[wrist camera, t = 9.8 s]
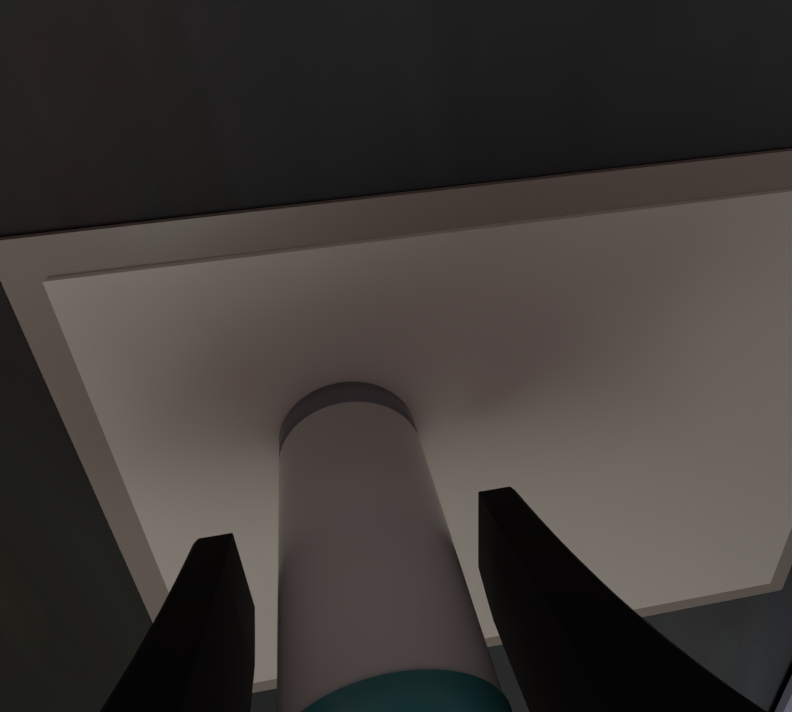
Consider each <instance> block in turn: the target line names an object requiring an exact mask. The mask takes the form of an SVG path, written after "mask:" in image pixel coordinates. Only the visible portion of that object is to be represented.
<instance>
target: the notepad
mask: <svg viewBox="0 0 792 712" xmlns="http://www.w3.org/2000/svg"><path fill="white" fill-rule="evenodd" d="M0 281H1V283H2V285H3V288H4V290H5V292H6V294H7V296H8V299H9V301H10V303H11V305H12V308H13V310H14V312H15V314H16V317H17V319H18V321H19V323H20V326H21V328H22V330H23V332H24V335H25V337H26V339H27V341H28V344H29V346H30V348H31V350H32V353H33V355H34V357H35V359H36V362H37V364H38V366H39V368H40V371H41V373H42V375H43V377H44V380H45V382H46V384H47V386H48V389H49V391H50V393H51V395H52V398H53V400H54V402H55V404H56V407H57V409H58V411H59V413H60V416H61V418H62V420H63V422H64V424H65V427H66V429H67V431H68V433H69V436H70V438H71V440H72V442H73V445H74V447H75V449H76V451H77V454H78V456H79V458H80V460H81V463H82V465H83V467H84V469H85V472H86V474H87V476H88V478H89V481H90V483H91V485H92V487H93V490H94V492H95V494H96V496H97V499H98V501H99V503H100V505H101V508H102V510H103V512H104V514H105V517H106V519H107V521H108V523H109V526H110V528H111V530H112V532H113V535H114V537H115V539H116V541H117V543H118V546H119V548H120V550H121V552H122V555H123V557H124V559H125V561H126V564H127V566H128V568H129V570H130V573H131V575H132V577H133V579H134V582H135V584H136V586H137V588H138V591H139V593H140V595H141V597H142V600H143V602H144V604H145V606H146V609H147V611H148V613H149V615H150V618H151V620H152V622H154V620H155V618H156V617H157V615H158V613H159V611H160V609H161V607H162V605H163V604H164V602H165V600H166V598H167V596H168V594H169V592H170V590H171V588H172V586H173V584H174V582H175V580H176V578H177V576H178V574H179V572H180V570H181V568H182V566H183V564H184V562H185V560H186V558H187V556H188V554H189V552H190V550H191V548H192V545H193V544H194V543H195V541H196V540H197V539H199V538H204V537H210V536H216V535H222V534H228V533H233V536H234V539H235V542H236V546H237V549H238V552H239V556H240V559H241V562H242V566H243V569H244V572H245V576H246V579H247V583H248V586H249V589H250V593H251V596H252V599H253V603H254V606H255V669H254V680H253V689H252V693H254V692H260V691H265V690H270V689H275V688H277V622H278V513H279V435H280V430H281V427H282V424H283V421H284V419H285V418H286V416H287V414H288V413H289V411H290V410H291V409H292V407H293V406H294V405H295V404H296V403H297V402H298V401H300V400H301V399H302V398H303V397H305V396H306V395H308V394H309V393H311V392H313V391H315V390H317V389H319V388H321V387H324V386H327V385H331V384H335V383H340V382H365V383H370V384H374V385H377V386H380V387H383V388H385V389H387V390H389V391H391V392H392V393H394V394H395V395H396V396H398V397H399V398H400V399H401V400H402V401H403V402H404V403H405V405H406V406H407V407H408V409H409V411H410V413H411V415H412V418H413V421H414V424H415V427H416V430H417V433H418V436H419V439H420V442H421V445H422V448H423V451H424V454H425V457H426V460H427V464H428V467H429V470H430V473H431V476H432V479H433V482H434V485H435V488H436V491H437V494H438V497H439V500H440V503H441V507H442V510H443V513H444V516H445V519H446V522H447V525H448V528H449V531H450V534H451V537H452V540H453V543H454V546H455V549H456V553H457V556H458V559H459V562H460V565H461V568H462V571H463V574H464V577H465V580H466V583H467V586H468V589H469V592H470V595H471V599H472V602H473V605H474V608H475V611H476V614H477V617H478V620H479V623H480V626H481V629H482V632H483V635H484V638H485V642H486V645H487V647H491V646H496V645H501V644H502V641H501V639H500V636H499V634H498V631H497V628H496V626H495V623H494V621H493V618H492V614H491V611H490V607H489V604H488V600H487V597H486V593H485V590H484V586H483V582H482V579H481V575H480V571H479V568H478V492H480V491H486V490H492V489H498V488H504V487H511V488H513V489H514V490H516V492H517V493H518V494H519V495H520V496H521V497H522V499H523V500H524V501H525V502H526V503H527V504H528V505H529V507H530V508H531V509H532V510H533V511H534V512H535V513H536V514H537V516H538V517H539V518H540V519H541V520H542V521H543V522H544V523H545V524H546V525H547V527H548V528H549V529H550V530H551V531H552V532H553V533H554V534H555V535H556V536H557V537H558V538H559V539H560V540H561V541H562V542H563V543H564V544H565V545H566V547H567V548H568V549H569V550H570V551H571V552H572V553H573V554H574V555H575V556H576V557H577V558H578V559H579V560H580V561H581V562H583V563H584V564H585V565H586V566H587V567H588V568H589V569H590V570H591V571H592V572H593V573H594V574H595V575H596V576H597V577H598V578H599V579H600V580H601V581H602V582H603V583H604V584H605V585H606V586H607V587H608V588H610V589H611V590H612V591H613V592H614V593H615V594H616V595H617V596H618V597H619V598H620V599H622V600H623V601H624V602H625V603H626V604H627V605H628V606H629V607H631V608H632V609H633V610H634V611H635V612H636V613H637V614H638V615H640V616H641V617H645V616H650V615H655V614H660V613H666V612H671V611H676V610H681V609H686V608H691V607H696V606H702V605H707V604H712V603H717V602H722V601H727V600H732V599H738V598H743V597H748V596H753V595H758V594H763V593H768V592H774V591H779V590H782V588H783V586H784V583H785V581H786V578H787V576H788V573H789V571H790V568H791V566H792V148H788V149H779V150H770V151H762V152H753V153H744V154H735V155H726V156H717V157H708V158H700V159H691V160H682V161H673V162H664V163H655V164H646V165H638V166H629V167H620V168H611V169H602V170H593V171H584V172H576V173H567V174H558V175H549V176H540V177H531V178H522V179H514V180H505V181H496V182H487V183H478V184H469V185H460V186H452V187H443V188H434V189H425V190H416V191H407V192H398V193H390V194H381V195H372V196H363V197H354V198H345V199H336V200H328V201H319V202H310V203H301V204H292V205H283V206H274V207H266V208H257V209H248V210H239V211H230V212H221V213H212V214H204V215H195V216H186V217H177V218H168V219H159V220H150V221H142V222H133V223H124V224H115V225H106V226H97V227H88V228H80V229H71V230H62V231H53V232H44V233H35V234H26V235H18V236H9V237H0Z"/></svg>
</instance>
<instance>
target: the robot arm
mask: <svg viewBox="0 0 792 712" xmlns="http://www.w3.org/2000/svg"><path fill="white" fill-rule="evenodd" d="M478 568H479V571H480V575H481V579H482V582H483V586H484V590H485V593H486V597H487V600H488V604H489V607H490V611H491V614H492V618H493V621H494V623H495V626H496V628H497V631H498V634H499V636H500V639H501V641H502V644H503V646H504V649H505V651H506V654H507V656H508V659H509V661H510V664H511V666H512V669H513V671H514V674H515V676H516V679H517V681H518V684H519V686H520V689H521V691H522V694H523V696H524V699H525V701H526V704H527V706H528V709H529V711H530V712H766V711H765V710H763V709H762V708H760V707H759V706H757V705H756V704H754V703H753V702H752V701H750V700H749V699H747V698H746V697H744V696H743V695H741V694H740V693H738V692H737V691H735V690H734V689H733V688H731V687H730V686H728V685H727V684H726V683H724V682H723V681H722V680H720V679H719V678H718V677H716V676H715V675H714V674H712V673H711V672H710V671H708V670H707V669H706V668H704V667H703V666H701V665H700V664H699V663H697V662H696V661H695V660H694V659H692V658H691V657H690V656H688V655H687V654H686V653H685V652H683V651H682V650H681V649H680V648H678V647H677V646H676V645H674V644H673V643H672V642H671V641H669V640H668V639H667V638H666V637H665V636H663V635H662V634H661V633H660V632H658V631H657V630H656V629H655V628H654V627H652V626H651V625H650V624H649V623H648V622H647V621H645V620H644V619H643V618H642V617H641V616H640V615H638V614H637V613H636V612H635V611H634V610H633V609H632V608H631V607H629V606H628V605H627V604H626V603H625V602H624V601H623V600H622V599H620V598H619V597H618V596H617V595H616V594H615V593H614V592H613V591H612V590H611V589H610V588H608V587H607V586H606V585H605V584H604V583H603V582H602V581H601V580H600V579H599V578H598V577H597V576H596V575H595V574H594V573H593V572H592V571H591V570H590V569H589V568H588V567H587V566H586V565H585V564H584V563H583V562H581V561H580V560H579V559H578V558H577V557H576V556H575V555H574V554H573V553H572V552H571V551H570V550H569V549H568V548H567V547H566V545H565V544H564V543H563V542H562V541H561V540H560V539H559V538H558V537H557V536H556V535H555V534H554V533H553V532H552V531H551V530H550V529H549V528H548V527H547V525H546V524H545V523H544V522H543V521H542V520H541V519H540V518H539V517H538V516H537V514H536V513H535V512H534V511H533V510H532V509H531V508H530V507H529V505H528V504H527V503H526V502H525V501H524V500H523V499H522V497H521V496H520V495H519V494H518V493H517V492H516V490H514V489H513V488H511V487H504V488H498V489H492V490H486V491H480V492H478ZM254 669H255V606H254V603H253V599H252V596H251V593H250V589H249V586H248V583H247V579H246V576H245V572H244V569H243V566H242V562H241V559H240V556H239V552H238V549H237V546H236V542H235V539H234V536H233V533H228V534H222V535H216V536H210V537H204V538H199V539H197V540H196V541H195V543H194V544H193V545H192V548H191V550H190V552H189V554H188V556H187V558H186V560H185V562H184V564H183V566H182V568H181V570H180V572H179V574H178V576H177V578H176V580H175V582H174V584H173V586H172V588H171V590H170V592H169V594H168V596H167V598H166V600H165V602H164V604H163V605H162V607H161V609H160V611H159V613H158V615H157V617H156V618H155V620H154V622H153V624H152V625H151V627H150V629H149V631H148V633H147V634H146V636H145V638H144V640H143V641H142V643H141V645H140V647H139V649H138V650H137V652H136V654H135V656H134V657H133V659H132V661H131V662H130V664H129V666H128V667H127V669H126V671H125V672H124V674H123V675H122V677H121V679H120V680H119V682H118V684H117V685H116V687H115V688H114V690H113V692H112V693H111V695H110V696H109V698H108V700H107V701H106V703H105V704H104V706H103V708H102V709H101V711H100V712H250V709H251V699H252V689H253V680H254ZM775 712H792V675H791V677H790V679H789V681H788V684H787V686H786V688H785V690H784V692H783V694H782V696H781V699H780V701H779V703H778V705H777V707H776V709H775Z"/></svg>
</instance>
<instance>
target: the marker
mask: <svg viewBox="0 0 792 712" xmlns="http://www.w3.org/2000/svg"><path fill="white" fill-rule="evenodd" d="M277 712H512V710H511V707H510V704H509V701H508V700H507V698H506V697H505V695H504V694H503V693H502V691H501V688H500V684H499V681H498V678H497V675H496V672H495V669H494V666H493V663H492V660H491V657H490V654H489V651H488V648H487V645H486V642H485V638H484V635H483V632H482V629H481V626H480V623H479V620H478V617H477V614H476V611H475V608H474V605H473V602H472V599H471V595H470V592H469V589H468V586H467V583H466V580H465V577H464V574H463V571H462V568H461V565H460V562H459V559H458V556H457V553H456V549H455V546H454V543H453V540H452V537H451V534H450V531H449V528H448V525H447V522H446V519H445V516H444V513H443V510H442V507H441V503H440V500H439V497H438V494H437V491H436V488H435V485H434V482H433V479H432V476H431V473H430V470H429V467H428V464H427V460H426V457H425V454H424V451H423V448H422V445H421V442H420V439H419V436H418V433H417V430H416V427H415V424H414V421H413V418H412V415H411V413H410V411H409V409H408V407H407V406H406V405H405V403H404V402H403V401H402V400H401V399H400V398H399V397H398V396H396V395H395V394H394V393H392V392H391V391H389V390H387V389H385V388H383V387H380V386H377V385H374V384H370V383H365V382H340V383H335V384H331V385H327V386H324V387H321V388H319V389H317V390H315V391H313V392H311V393H309V394H308V395H306V396H305V397H303V398H302V399H301V400H300V401H298V402H297V403H296V404H295V405H294V406H293V407H292V409H291V410H290V411H289V413H288V414H287V416H286V418H285V419H284V421H283V424H282V427H281V430H280V435H279V513H278V622H277Z"/></svg>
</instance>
